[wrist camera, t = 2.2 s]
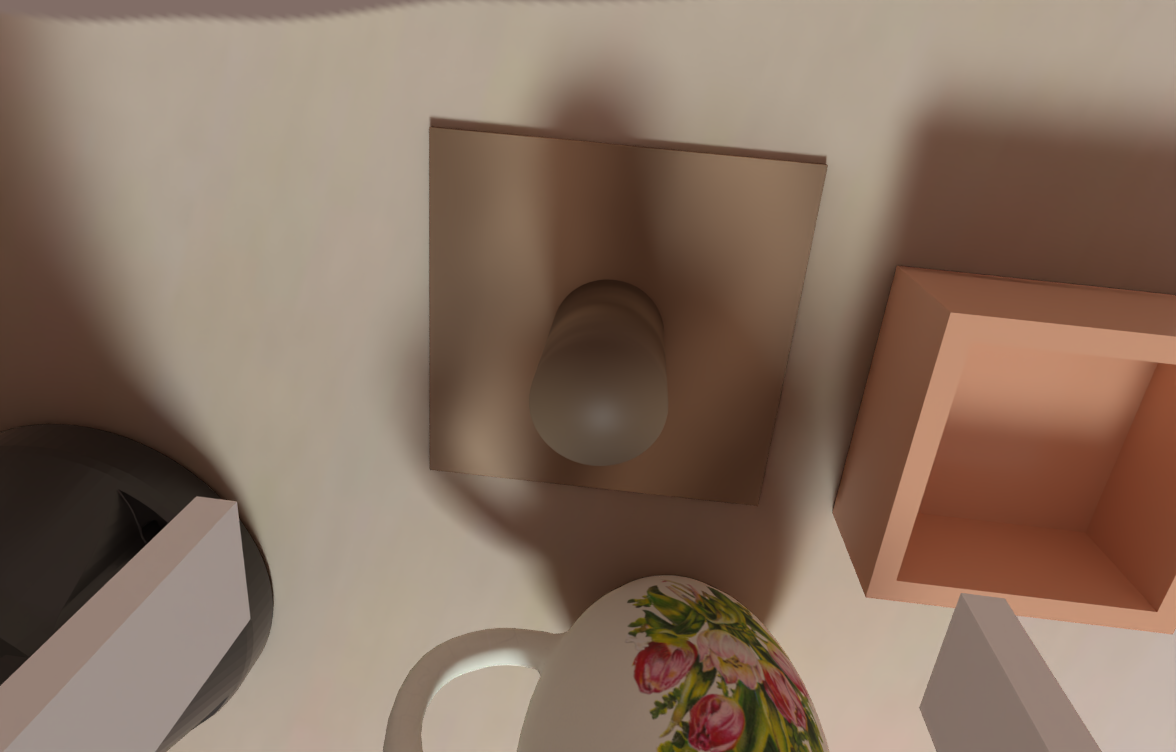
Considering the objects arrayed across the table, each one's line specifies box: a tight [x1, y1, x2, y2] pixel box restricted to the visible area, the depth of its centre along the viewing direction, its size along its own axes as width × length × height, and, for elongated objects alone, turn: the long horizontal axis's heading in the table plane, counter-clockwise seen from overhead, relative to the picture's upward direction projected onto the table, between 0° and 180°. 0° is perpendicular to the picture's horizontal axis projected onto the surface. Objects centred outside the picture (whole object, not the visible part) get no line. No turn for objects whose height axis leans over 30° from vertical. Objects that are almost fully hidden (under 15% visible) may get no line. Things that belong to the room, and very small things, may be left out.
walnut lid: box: [429, 127, 828, 506], centre depth 25 cm, size 13×13×7 cm
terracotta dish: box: [832, 265, 1176, 634], centre depth 25 cm, size 10×10×5 cm
